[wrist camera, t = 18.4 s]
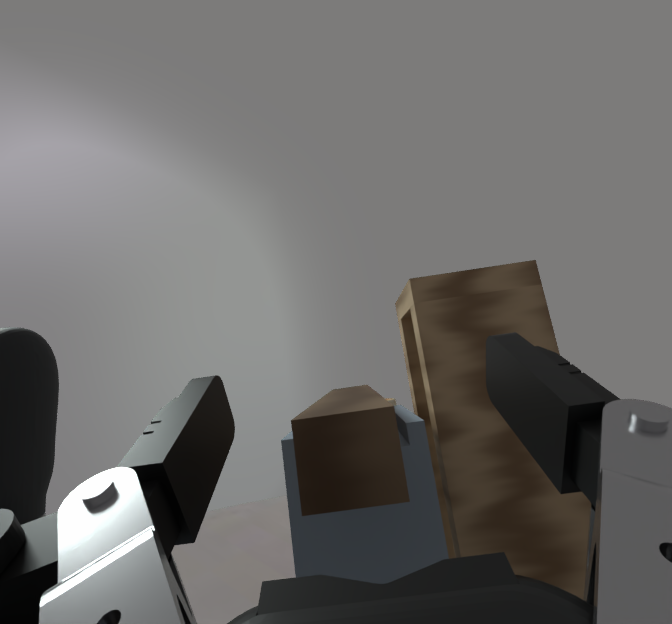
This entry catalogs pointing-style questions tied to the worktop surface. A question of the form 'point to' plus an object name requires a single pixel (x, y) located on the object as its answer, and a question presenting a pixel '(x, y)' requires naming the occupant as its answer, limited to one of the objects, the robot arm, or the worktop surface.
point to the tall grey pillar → (372, 521)
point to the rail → (348, 453)
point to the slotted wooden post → (487, 423)
